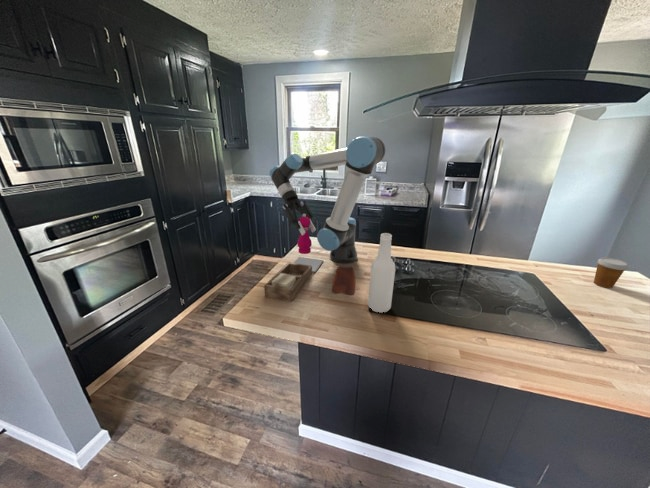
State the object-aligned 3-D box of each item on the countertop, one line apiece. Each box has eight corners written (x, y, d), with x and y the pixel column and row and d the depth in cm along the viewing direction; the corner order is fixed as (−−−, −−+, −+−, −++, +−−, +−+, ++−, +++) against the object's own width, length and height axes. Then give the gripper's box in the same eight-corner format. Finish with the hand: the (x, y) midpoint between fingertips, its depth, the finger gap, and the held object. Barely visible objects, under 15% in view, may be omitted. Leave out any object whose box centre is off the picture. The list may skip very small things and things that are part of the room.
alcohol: (363, 305, 104) (368, 233, 93) (377, 298, 109) (384, 229, 98) (380, 316, 98) (388, 240, 87) (395, 307, 103) (404, 235, 92)
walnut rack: (311, 275, 127) (311, 265, 125) (292, 301, 106) (292, 290, 104) (288, 271, 131) (287, 262, 129) (265, 296, 109) (264, 285, 108)
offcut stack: (298, 288, 116) (298, 275, 114) (290, 298, 108) (289, 285, 106) (280, 284, 118) (279, 273, 116) (270, 295, 110) (270, 282, 108)
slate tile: (323, 261, 142) (323, 260, 141) (315, 273, 129) (315, 271, 129) (299, 258, 145) (299, 256, 145) (288, 269, 133) (288, 267, 132)
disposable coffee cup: (596, 288, 119) (607, 264, 114) (584, 278, 127) (593, 255, 123) (623, 291, 116) (635, 267, 112) (608, 281, 124) (619, 258, 120)
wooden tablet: (354, 296, 111) (355, 293, 110) (331, 295, 112) (331, 291, 112) (355, 268, 136) (356, 265, 135) (336, 267, 137) (336, 264, 136)
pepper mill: (302, 255, 130) (301, 216, 123) (294, 250, 136) (293, 213, 128) (314, 252, 134) (314, 214, 127) (306, 248, 140) (306, 211, 132)
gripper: (299, 196, 142) (319, 232, 137) (269, 200, 130) (290, 240, 125) (305, 187, 137) (327, 224, 132) (274, 191, 125) (296, 232, 120)
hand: (309, 232), depth 128 cm, fingers closed on pepper mill, 6 cm apart
